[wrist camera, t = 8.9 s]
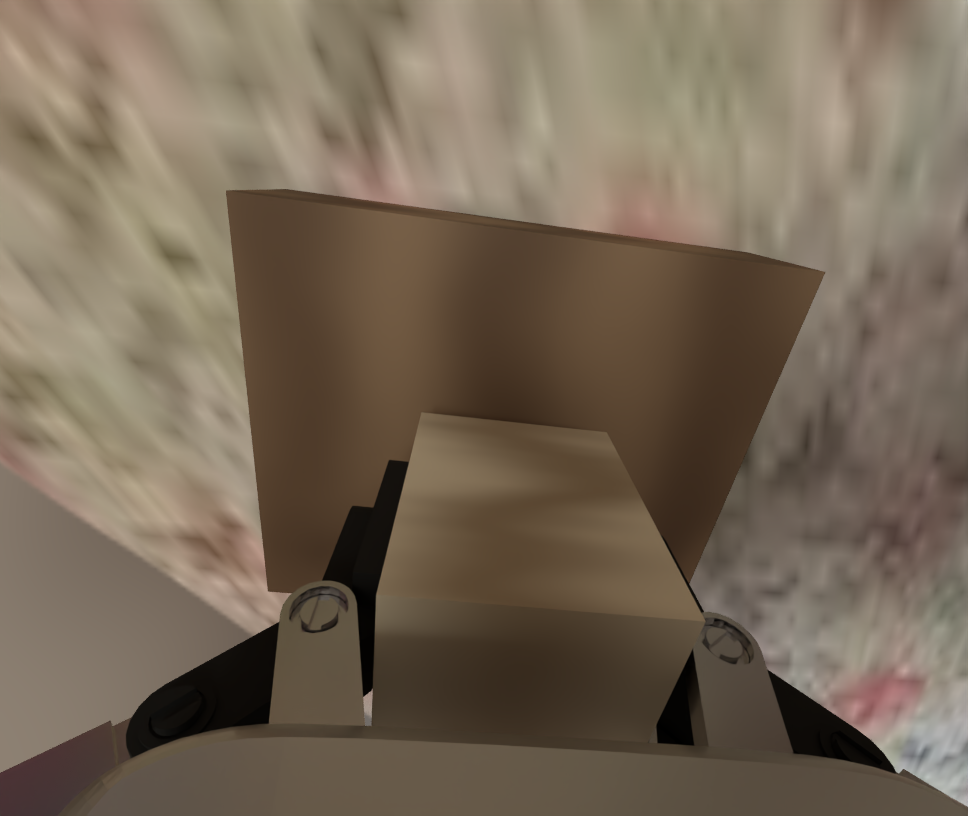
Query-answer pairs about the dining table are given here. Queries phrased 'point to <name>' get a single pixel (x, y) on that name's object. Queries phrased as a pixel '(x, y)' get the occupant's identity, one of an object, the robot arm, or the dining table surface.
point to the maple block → (526, 589)
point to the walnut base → (492, 354)
